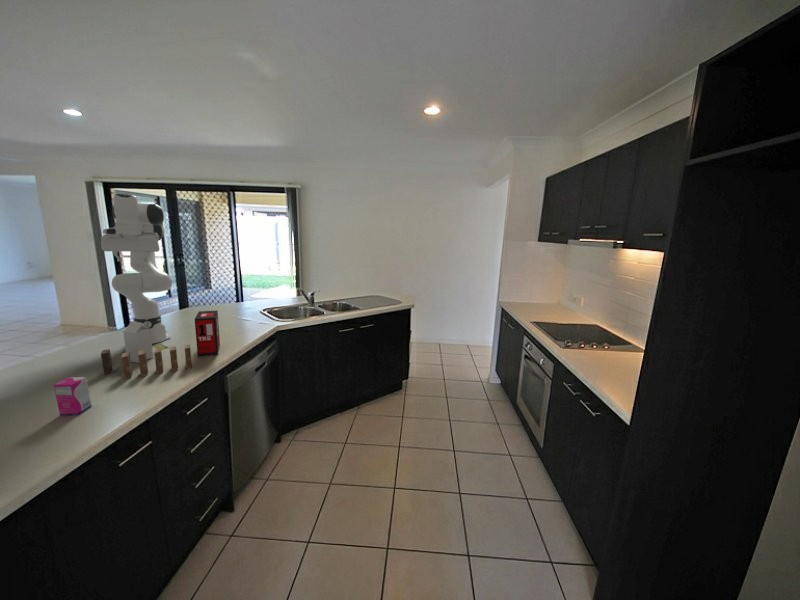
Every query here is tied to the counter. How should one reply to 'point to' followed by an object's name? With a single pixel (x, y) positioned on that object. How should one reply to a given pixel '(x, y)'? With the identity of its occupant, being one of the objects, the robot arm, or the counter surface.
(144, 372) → the tile
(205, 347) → the cleaning product box
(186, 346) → the tile
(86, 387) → the supplement box
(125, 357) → the tile
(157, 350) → the tile
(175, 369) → the tile
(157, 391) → the counter surface
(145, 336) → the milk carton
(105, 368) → the tile
